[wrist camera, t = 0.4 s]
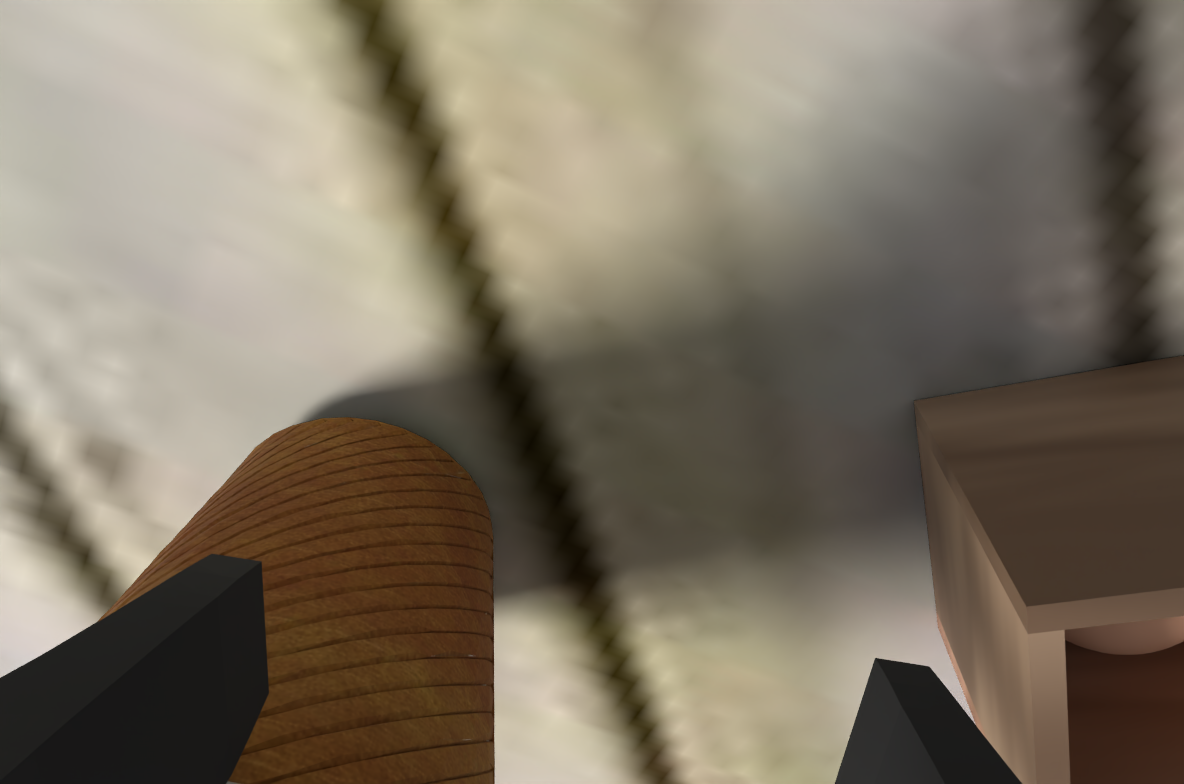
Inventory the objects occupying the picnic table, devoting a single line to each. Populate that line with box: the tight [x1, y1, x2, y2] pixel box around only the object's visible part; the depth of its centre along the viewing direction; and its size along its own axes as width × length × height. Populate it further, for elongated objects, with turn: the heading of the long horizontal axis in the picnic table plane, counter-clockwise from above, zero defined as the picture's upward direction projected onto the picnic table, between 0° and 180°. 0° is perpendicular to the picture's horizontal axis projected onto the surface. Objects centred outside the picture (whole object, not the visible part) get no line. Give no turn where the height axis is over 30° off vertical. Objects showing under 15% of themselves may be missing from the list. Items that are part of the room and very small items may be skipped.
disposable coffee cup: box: [99, 417, 495, 784], centre depth 16 cm, size 10×10×12 cm
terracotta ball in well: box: [1065, 616, 1184, 655], centre depth 18 cm, size 4×4×4 cm
